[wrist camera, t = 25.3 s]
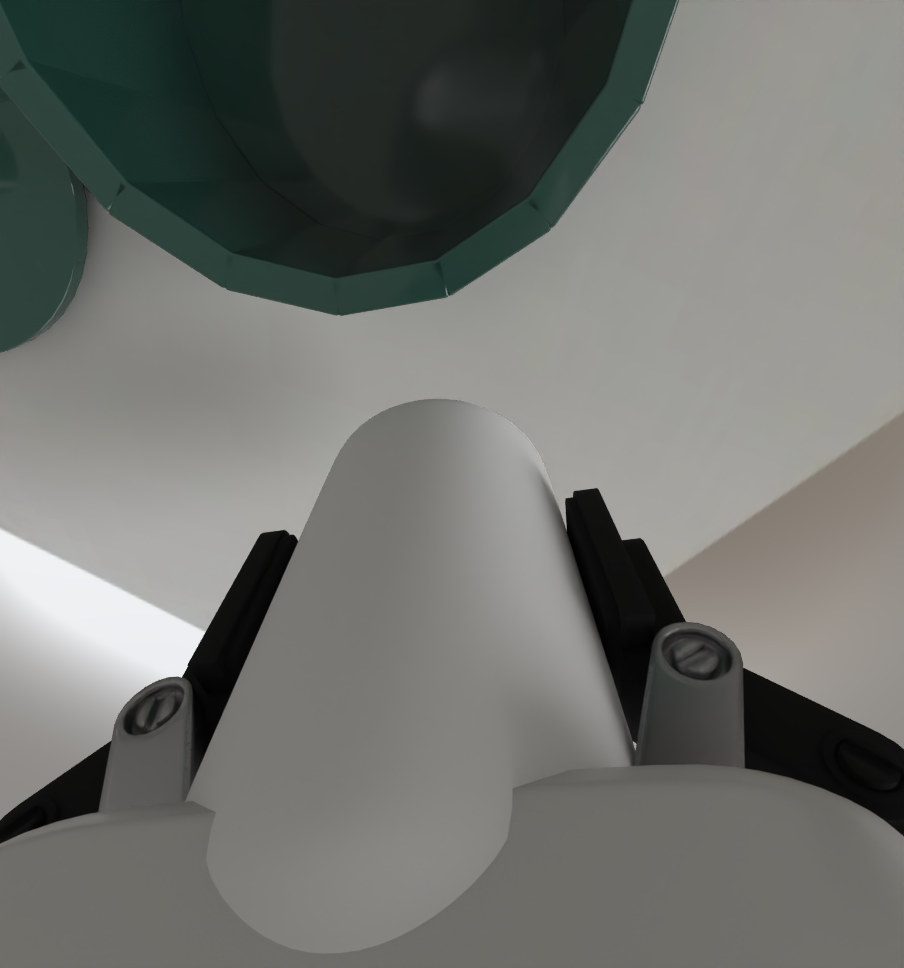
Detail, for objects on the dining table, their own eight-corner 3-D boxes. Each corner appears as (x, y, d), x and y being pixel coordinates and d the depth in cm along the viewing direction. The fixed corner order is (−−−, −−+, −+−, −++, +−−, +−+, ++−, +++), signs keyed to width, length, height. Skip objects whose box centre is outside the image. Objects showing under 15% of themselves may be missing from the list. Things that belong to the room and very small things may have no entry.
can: (492, 598, 17) (545, 1220, 7) (308, 539, 16) (36, 1193, 6) (589, 442, 14) (956, 1159, 4) (369, 354, 13) (9, 1066, 2)
